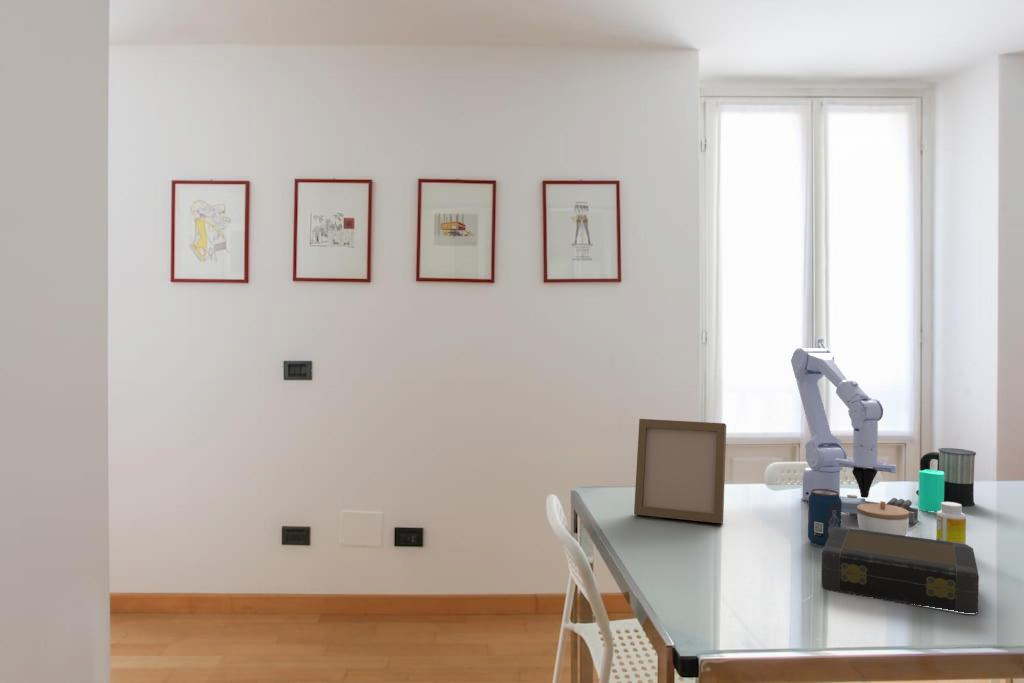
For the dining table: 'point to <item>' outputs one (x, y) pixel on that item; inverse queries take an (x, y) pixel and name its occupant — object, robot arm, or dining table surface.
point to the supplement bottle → (951, 523)
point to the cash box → (901, 569)
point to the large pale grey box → (912, 513)
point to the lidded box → (851, 503)
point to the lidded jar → (883, 518)
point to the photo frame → (681, 470)
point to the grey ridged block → (900, 503)
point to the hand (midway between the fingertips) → (864, 496)
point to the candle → (931, 490)
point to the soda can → (823, 515)
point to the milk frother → (954, 473)
